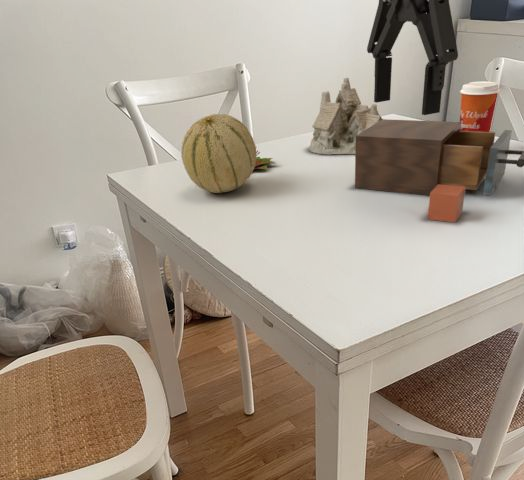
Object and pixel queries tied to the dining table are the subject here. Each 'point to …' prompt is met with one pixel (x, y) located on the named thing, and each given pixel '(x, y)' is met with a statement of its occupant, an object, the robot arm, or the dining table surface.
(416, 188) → the cabinet
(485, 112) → the paper cup
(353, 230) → the dining table surface
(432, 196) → the block
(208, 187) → the cantaloupe
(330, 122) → the ceramic cottage
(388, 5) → the robot arm
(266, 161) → the lily flower
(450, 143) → the drawer
